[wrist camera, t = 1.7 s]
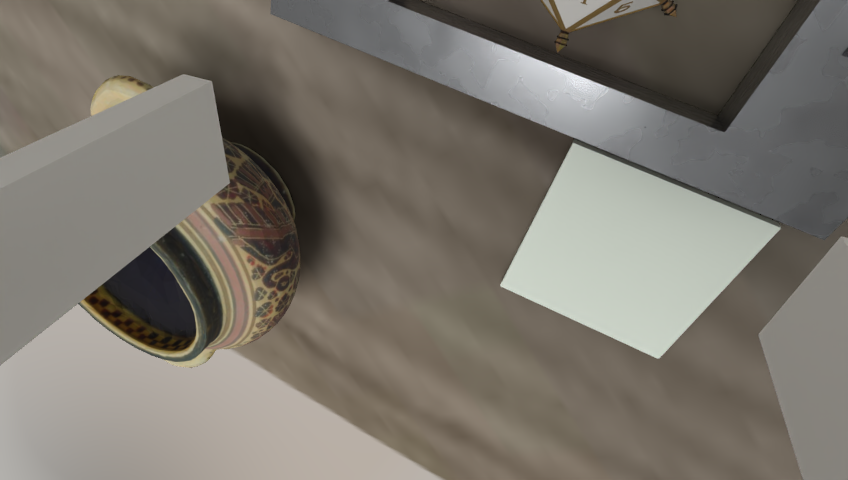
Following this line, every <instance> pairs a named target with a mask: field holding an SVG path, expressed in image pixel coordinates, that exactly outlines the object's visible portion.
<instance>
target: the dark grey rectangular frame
mask: <svg viewBox="0 0 848 480" xmlns="http://www.w3.org/2000/svg"><path fill="white" fill-rule="evenodd" d="M271 14H272V15H275V16H277V17H279V18H282V19H284V20H287V21H289V22H292V23H294V24H297V25H299V26H302V27H304V28H306V29H309V30H311V31H314V32H316V33H319V34H321V35H324V36H326V37H328V38H331V39H333V40H336V41H338V42H341V43H343V44H346V45H348V46H350V47H353V48H355V49H358V50H360V51H363V52H365V53H368V54H370V55H372V56H375V57H377V58H380V59H382V60H385V61H387V62H390V63H392V64H395V65H397V66H399V67H402V68H404V69H407V70H409V71H412V72H414V73H417V74H419V75H421V76H424V77H426V78H429V79H431V80H434V81H436V82H439V83H441V84H443V85H446V86H448V87H451V88H453V89H456V90H458V91H461V92H463V93H465V94H468V95H470V96H473V97H475V98H478V99H480V100H483V101H485V102H488V103H490V104H492V105H495V106H497V107H500V108H502V109H505V110H507V111H510V112H512V113H514V114H517V115H519V116H522V117H524V118H527V119H529V120H532V121H534V122H536V123H539V124H541V125H544V126H546V127H549V128H551V129H554V130H556V131H558V132H561V133H563V134H566V135H568V136H571V137H573V138H576V139H578V140H580V141H583V142H585V143H588V144H590V145H593V146H595V147H598V148H600V149H603V150H605V151H607V152H610V153H612V154H615V155H617V156H620V157H622V158H625V159H627V160H629V161H632V162H634V163H637V164H639V165H642V166H644V167H647V168H649V169H651V170H654V171H656V172H659V173H661V174H664V175H666V176H669V177H671V178H673V179H676V180H678V181H681V182H683V183H686V184H688V185H691V186H693V187H696V188H698V189H700V190H703V191H705V192H708V193H710V194H713V195H715V196H718V197H720V198H722V199H725V200H727V201H730V202H732V203H735V204H737V205H740V206H742V207H744V208H747V209H749V210H752V211H754V212H757V213H759V214H762V215H764V216H766V217H769V218H771V219H774V220H776V221H779V222H781V223H784V224H786V225H789V226H791V227H793V228H796V229H798V230H801V231H803V232H806V233H808V234H811V235H813V236H815V237H818V238H820V239H823V240H825V239H826V238H827V237H828V236H829V235H830V234H831V233H832V232H833V231H834V230H835V229H836V228H837V227H838V226H839V225H840V224H841V223H843V222H844V221H845V220H846V219H847V218H848V0H798V2H797V3H796V5H795V6H794V8H793V9H792V10H791V12H790V13H789V15H788V16H787V18H786V19H785V20H784V22H783V23H782V25H781V26H780V28H779V29H778V31H777V32H776V33H775V35H774V36H773V38H772V39H771V41H770V42H769V43H768V45H767V46H766V48H765V49H764V51H763V52H762V53H761V55H760V56H759V58H758V59H757V61H756V62H755V64H754V65H753V66H752V68H751V69H750V71H749V72H748V74H747V75H746V76H745V78H744V79H743V81H742V82H741V84H740V85H739V86H738V88H737V89H736V91H735V92H734V94H733V95H732V97H731V98H730V99H729V101H728V102H727V104H726V105H725V107H724V108H723V109H722V111H721V112H720V114H719V115H718V116H717V115H714V114H711V113H709V112H706V111H704V110H701V109H699V108H696V107H693V106H691V105H688V104H686V103H683V102H680V101H678V100H675V99H673V98H670V97H667V96H665V95H662V94H660V93H657V92H655V91H652V90H649V89H647V88H644V87H642V86H639V85H636V84H634V83H631V82H629V81H626V80H623V79H621V78H618V77H616V76H613V75H611V74H608V73H605V72H603V71H600V70H598V69H595V68H592V67H590V66H587V65H585V64H582V63H579V62H577V61H574V60H572V59H569V58H567V57H564V56H561V55H559V54H556V53H554V52H551V51H548V50H546V49H543V48H541V47H538V46H536V45H533V44H530V43H528V42H525V41H523V40H520V39H517V38H515V37H512V36H510V35H507V34H504V33H502V32H499V31H497V30H494V29H492V28H489V27H486V26H484V25H481V24H479V23H476V22H473V21H471V20H468V19H466V18H463V17H460V16H458V15H455V14H453V13H450V12H448V11H445V10H442V9H440V8H437V7H435V6H432V5H429V4H427V3H424V2H422V1H419V0H271Z"/></svg>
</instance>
